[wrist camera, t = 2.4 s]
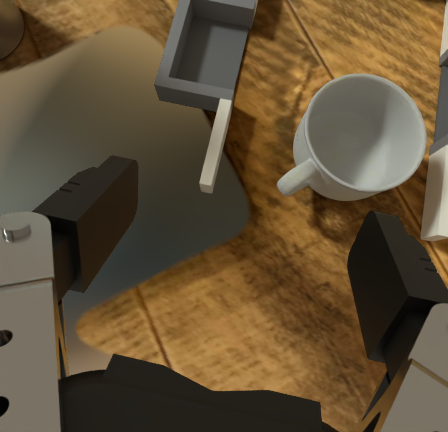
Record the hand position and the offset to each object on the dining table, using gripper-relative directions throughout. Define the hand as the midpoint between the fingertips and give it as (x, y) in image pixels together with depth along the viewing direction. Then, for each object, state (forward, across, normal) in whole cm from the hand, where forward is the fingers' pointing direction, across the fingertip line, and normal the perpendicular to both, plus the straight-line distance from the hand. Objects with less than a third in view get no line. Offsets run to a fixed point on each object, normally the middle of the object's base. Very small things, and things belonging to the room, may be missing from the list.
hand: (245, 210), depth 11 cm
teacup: (+26, -8, +9) cm, 29 cm away
